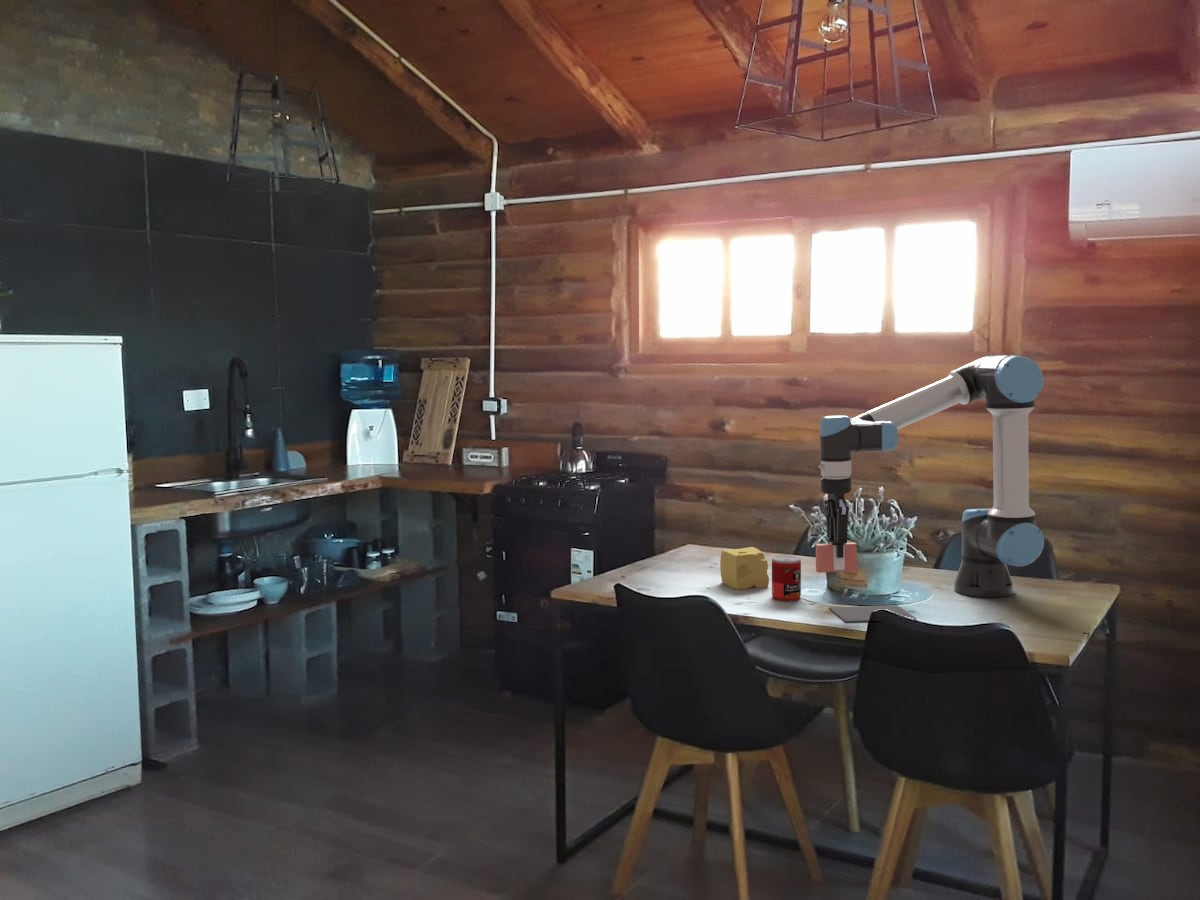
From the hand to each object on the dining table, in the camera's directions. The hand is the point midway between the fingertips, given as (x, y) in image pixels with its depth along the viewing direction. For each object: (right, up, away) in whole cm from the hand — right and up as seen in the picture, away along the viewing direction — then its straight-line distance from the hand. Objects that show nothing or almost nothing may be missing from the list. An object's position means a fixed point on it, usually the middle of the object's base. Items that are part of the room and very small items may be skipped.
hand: (837, 568), depth 268 cm
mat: (+8, -12, -1) cm, 14 cm away
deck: (0, -1, 0) cm, 1 cm away
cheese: (-19, -9, +34) cm, 40 cm away
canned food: (-10, -10, +17) cm, 22 cm away
